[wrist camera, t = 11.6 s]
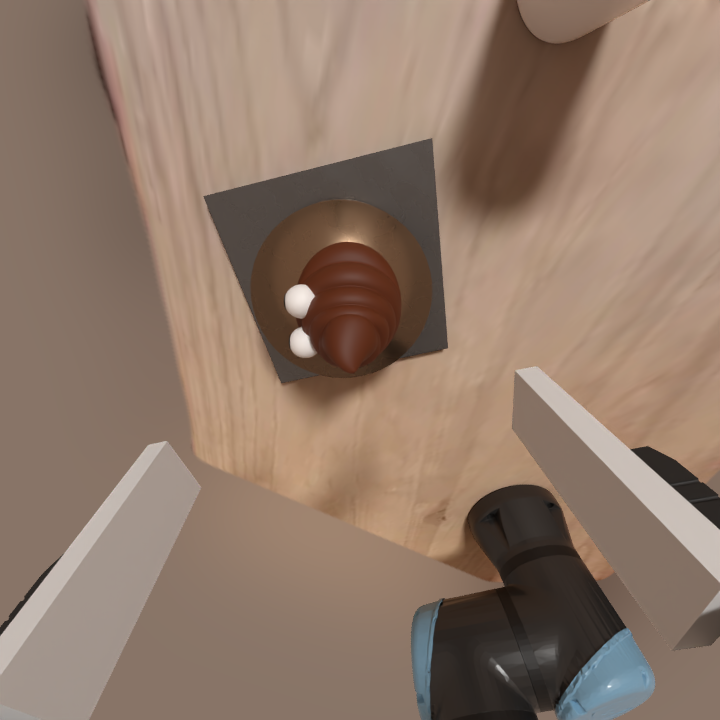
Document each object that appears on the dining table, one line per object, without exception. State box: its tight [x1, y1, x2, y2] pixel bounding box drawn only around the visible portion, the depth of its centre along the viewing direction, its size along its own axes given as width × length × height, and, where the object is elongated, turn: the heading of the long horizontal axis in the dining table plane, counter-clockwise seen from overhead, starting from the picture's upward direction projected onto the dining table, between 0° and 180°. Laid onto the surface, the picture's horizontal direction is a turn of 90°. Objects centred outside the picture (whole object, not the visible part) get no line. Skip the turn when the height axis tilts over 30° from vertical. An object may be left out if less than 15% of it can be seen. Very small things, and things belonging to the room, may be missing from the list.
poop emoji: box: [284, 242, 401, 374], centre depth 21 cm, size 10×8×9 cm
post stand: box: [203, 138, 448, 383], centre depth 28 cm, size 20×20×7 cm
